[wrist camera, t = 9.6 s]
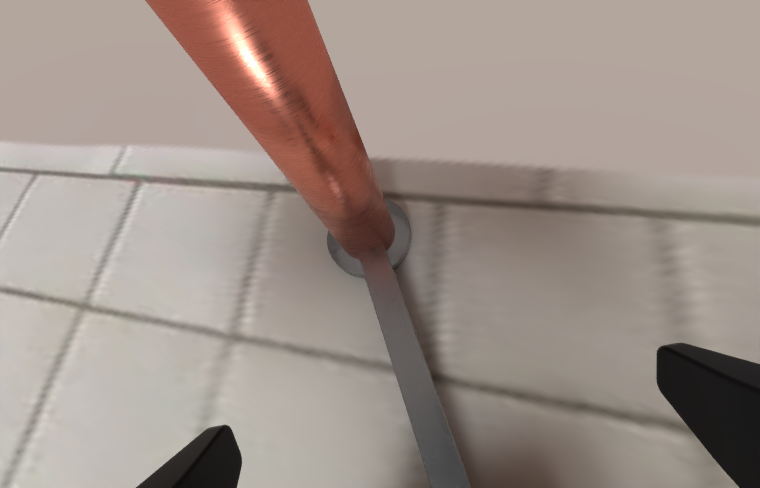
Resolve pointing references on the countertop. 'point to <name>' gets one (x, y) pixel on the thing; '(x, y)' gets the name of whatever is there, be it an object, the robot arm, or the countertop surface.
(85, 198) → the countertop surface
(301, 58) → the copper pillar
